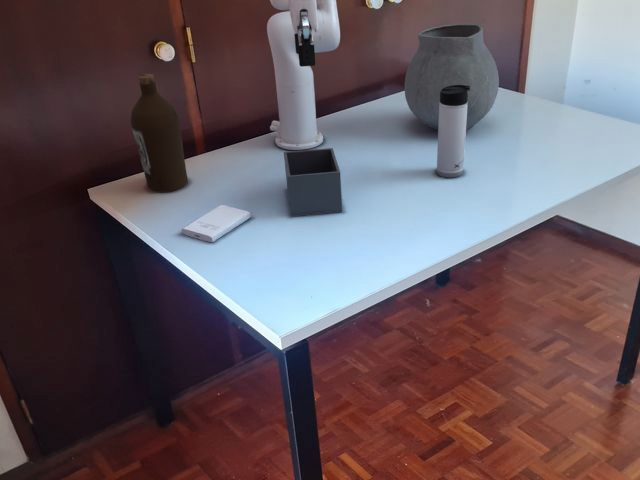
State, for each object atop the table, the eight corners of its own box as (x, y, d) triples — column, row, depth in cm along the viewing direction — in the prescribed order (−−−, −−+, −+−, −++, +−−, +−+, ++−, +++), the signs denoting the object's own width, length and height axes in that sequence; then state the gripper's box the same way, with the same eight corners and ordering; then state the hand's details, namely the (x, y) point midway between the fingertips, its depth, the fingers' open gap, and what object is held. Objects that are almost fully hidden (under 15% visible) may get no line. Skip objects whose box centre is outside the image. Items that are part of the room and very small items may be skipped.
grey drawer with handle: (286, 181, 167) (282, 144, 161) (332, 177, 168) (330, 140, 162) (291, 216, 152) (287, 176, 146) (342, 211, 153) (340, 172, 147)
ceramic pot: (433, 106, 206) (436, 13, 191) (510, 120, 194) (520, 22, 179) (387, 132, 190) (386, 33, 175) (467, 149, 179) (474, 45, 164)
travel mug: (463, 178, 164) (469, 91, 152) (435, 177, 166) (438, 90, 154) (465, 168, 169) (471, 82, 157) (437, 166, 170) (441, 81, 158)
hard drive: (250, 218, 152) (212, 243, 143) (221, 210, 155) (182, 234, 147) (249, 211, 151) (211, 236, 142) (220, 204, 154) (181, 227, 146)
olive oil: (184, 172, 173) (164, 66, 158) (195, 187, 166) (175, 78, 151) (141, 180, 170) (116, 73, 155) (150, 197, 162) (125, 86, 147)
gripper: (322, -28, 130) (327, 69, 140) (314, -42, 143) (319, 47, 154) (281, -25, 129) (290, 72, 139) (277, -40, 143) (284, 50, 153)
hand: (305, 59), depth 147 cm, fingers open, 9 cm apart
